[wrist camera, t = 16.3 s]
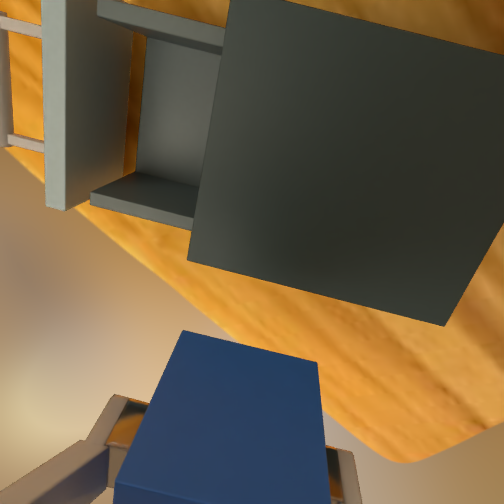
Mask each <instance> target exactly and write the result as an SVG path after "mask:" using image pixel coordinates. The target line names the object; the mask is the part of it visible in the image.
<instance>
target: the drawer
mask: <svg viewBox="0 0 504 504" xmlns="http://www.w3.org/2000/svg"><path fill="white" fill-rule="evenodd" d="M41 22H42V26H40V25H37V24H33V23H29V22H25V21H21V20H17V19H13V18H9V17H7V13H5V12H2V11H0V147H12V146H18V147H21V148H25V149H29V150H33V151H37V152H41V153H44V157H45V197H46V198H45V199H46V200H45V202H46V206H47V207H51V208H55V209H58V210H62V211H67V210H69V209H71V208H73V207H75V206H77V205H79V204H81V203H83V202H85V201H87V200H89V199H90V205H93V206H97V207H101V208H105V209H108V210H112V211H116V212H120V213H124V214H128V215H132V216H136V217H140V218H143V219H147V220H151V221H155V222H159V223H163V224H167V225H171V226H174V227H178V228H182V229H186V230H190V231H192V226H193V220H194V214H195V208H196V202H197V196H198V190H199V184H200V178H201V172H202V166H203V161H204V155H205V149H206V143H207V137H208V131H209V125H210V119H211V113H212V107H213V101H214V95H215V89H216V83H217V77H218V71H219V65H220V59H221V53H222V47H223V41H224V35H225V29H226V28H224V27H220V26H216V25H212V24H208V23H204V22H200V21H196V20H192V19H188V18H184V17H180V16H176V15H172V14H168V13H164V12H160V11H156V10H152V9H148V8H144V7H140V6H136V5H132V4H128V3H126V2H125V1H123V0H41ZM8 31H12V32H16V33H20V34H24V35H28V36H32V37H36V38H40V39H42V67H43V112H44V141H42V140H38V139H34V138H30V137H26V136H22V135H19V134H15V133H14V126H13V109H12V91H11V74H10V56H9V39H8ZM133 31H134V32H136V33H139V34H141V35H144V36H146V37H147V43H146V55H145V66H144V78H143V89H142V101H141V112H140V124H139V135H138V147H137V158H136V170H135V172H133V173H131V174H128V175H126V176H124V177H123V167H124V153H125V139H126V125H127V111H128V98H129V84H130V70H131V56H132V42H133Z"/></svg>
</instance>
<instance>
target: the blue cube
mask: <svg viewBox="0 0 504 504" xmlns="http://www.w3.org/2000/svg"><path fill="white" fill-rule="evenodd" d="M113 504H331V495H330V485H329V475H328V465H327V455H326V445H325V435H324V425H323V416H322V405H321V395H320V385H319V375H318V365H317V362H313V361H309V360H305V359H301V358H297V357H293V356H288V355H284V354H280V353H276V352H272V351H268V350H264V349H260V348H255V347H251V346H247V345H243V344H239V343H235V342H231V341H226V340H222V339H218V338H214V337H210V336H206V335H202V334H197V333H193V332H189V331H185V330H183V331H182V333H181V335H180V337H179V339H178V341H177V343H176V346H175V348H174V351H173V352H172V355H171V357H170V359H169V361H168V363H167V366H166V368H165V370H164V372H163V375H162V377H161V379H160V381H159V384H158V386H157V388H156V390H155V393H154V395H153V397H152V399H151V401H150V403H149V406H148V408H147V410H146V412H145V415H144V417H143V419H142V421H141V423H140V426H139V428H138V430H137V432H136V435H135V437H134V439H133V441H132V443H131V446H130V448H129V450H128V452H127V454H126V457H125V459H124V461H123V463H122V466H121V468H120V470H119V472H118V474H117V477H116V479H115V484H114V498H113Z"/></svg>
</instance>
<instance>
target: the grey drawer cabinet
mask: <svg viewBox="0 0 504 504" xmlns="http://www.w3.org/2000/svg"><path fill="white" fill-rule="evenodd" d="M503 223H504V55H501V54H497V53H493V52H489V51H485V50H481V49H477V48H473V47H469V46H465V45H461V44H457V43H453V42H449V41H445V40H441V39H437V38H433V37H429V36H425V35H421V34H417V33H413V32H409V31H405V30H401V29H397V28H393V27H389V26H385V25H381V24H377V23H373V22H369V21H365V20H361V19H357V18H353V17H349V16H345V15H341V14H337V13H333V12H329V11H325V10H321V9H317V8H313V7H309V6H305V5H301V4H297V3H293V2H289V1H285V0H230V5H229V11H228V17H227V23H226V29H225V35H224V41H223V47H222V53H221V59H220V65H219V71H218V77H217V83H216V89H215V95H214V101H213V107H212V113H211V119H210V125H209V131H208V137H207V143H206V149H205V155H204V161H203V166H202V172H201V178H200V184H199V190H198V196H197V202H196V208H195V214H194V220H193V226H192V232H191V238H190V244H189V250H188V256H187V260H188V261H192V262H196V263H199V264H203V265H207V266H211V267H215V268H219V269H223V270H227V271H230V272H234V273H238V274H242V275H246V276H250V277H254V278H258V279H261V280H265V281H269V282H273V283H277V284H281V285H285V286H288V287H292V288H296V289H300V290H304V291H308V292H312V293H316V294H319V295H323V296H327V297H331V298H335V299H339V300H343V301H347V302H350V303H354V304H358V305H362V306H366V307H370V308H374V309H377V310H381V311H385V312H389V313H393V314H397V315H401V316H405V317H408V318H412V319H416V320H420V321H424V322H428V323H432V324H436V325H439V326H443V327H444V326H445V325H446V323H447V321H448V320H449V318H450V316H451V314H452V313H453V311H454V309H455V307H456V306H457V304H458V302H459V300H460V299H461V297H462V295H463V293H464V292H465V290H466V288H467V286H468V284H469V283H470V281H471V279H472V277H473V276H474V274H475V272H476V270H477V269H478V267H479V265H480V263H481V262H482V260H483V258H484V256H485V255H486V253H487V251H488V249H489V247H490V246H491V244H492V242H493V240H494V239H495V237H496V235H497V233H498V232H499V230H500V228H501V226H502V225H503Z"/></svg>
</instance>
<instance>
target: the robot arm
mask: <svg viewBox="0 0 504 504" xmlns="http://www.w3.org/2000/svg"><path fill="white" fill-rule="evenodd" d="M148 406H149V403H146V402H142V401H139V400H136V399H132V398H128V397H124V396H120V395H116V394H114V395H113V396H112V397H111V398H110V400H109V401H108V403H107V405H106V406H105V408H104V410H103V412H102V414H101V415H100V417H99V418H98V420H97V422H96V423H95V425H94V427H93V429H92V430H91V432H90V434H89V435H88V437H87V439H86V440H85V441H83V440H79V441H78V442H76V443H75V444H73V445H72V446H70V447H69V448H67V449H65V450H64V451H63V452H61V453H59V454H58V455H56V456H54V457H53V458H52V459H50V460H48V461H47V462H45V463H44V464H42V465H40V466H39V467H37V468H36V469H34V470H33V471H31V472H30V473H28V474H26V475H25V476H23V477H22V478H20V479H19V480H17V481H16V482H14V483H12V484H11V485H9V486H8V487H6V488H5V489H3V490H2V491H0V504H90V503H91V502H92V501H93V500H94V499H96V497H98V496H99V495H100V494H101V493H102V492H103V491H104V490H105V489H106V487H110V488H114V484H115V479H116V477H117V474H118V472H119V470H120V468H121V466H122V463H123V461H124V459H125V457H126V454H127V452H128V450H129V448H130V446H131V443H132V441H133V439H134V437H135V435H136V432H137V430H138V428H139V426H140V423H141V421H142V419H143V417H144V415H145V412H146V410H147V408H148ZM326 455H327V465H328V475H329V485H330V495H331V504H362V499H361V493H360V487H359V482H358V476H357V471H356V465H355V460H354V455H353V453H352V452H350V451H347V450H342V449H338V448H334V447H331V446H327V445H326Z"/></svg>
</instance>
